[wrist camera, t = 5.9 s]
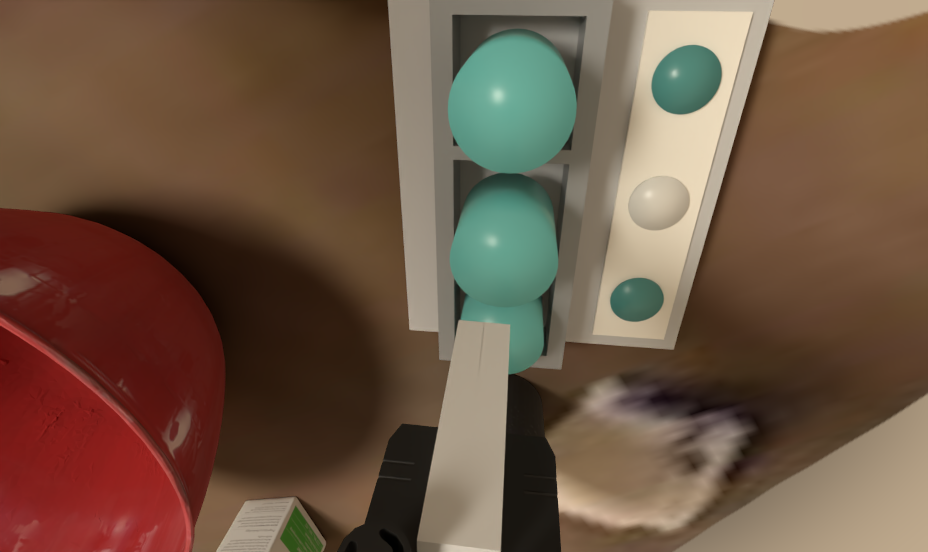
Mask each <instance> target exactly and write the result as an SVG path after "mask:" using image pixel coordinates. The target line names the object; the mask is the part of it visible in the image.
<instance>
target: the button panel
mask: <svg viewBox="0 0 928 552" xmlns="http://www.w3.org/2000/svg"><path fill="white" fill-rule="evenodd" d="M773 4H774V0H388V11H389V26H390V41H391V56H392V72H393V87H394V102H395V117H396V132H397V147H398V162H399V177H400V192H401V208H402V223H403V238H404V253H405V268H406V283H407V298H408V313H409V329H410V330H418V331H431V332H439V360H448V361H451V358H452V353H453V348H454V342H455V337H456V332H457V327H458V321H459V320H461V315H462V310H463V305H464V300H465V295H466V293H465V292H464V291H463V290H462V289H461V288H460V286H459V285H458V284H457V282H456V280H455V279H454V277H453V274H452V271H451V267H450V251H451V246H452V243H453V240H454V236H455V233H456V229H457V226H458V223H459V219H460V216H461V212H462V209H463V205H464V202H465V200H466V197H467V195H468V194H469V192H470V191H471V189H472V188H473V187H474V186H475V185H476V184H477V183H478V182H480V181H481V180H483V179H484V178H486V177H488V176H491V175H494V174H497V173H499V172H495V171H491V170H489V169H486V168H484V167H482V166H480V165H478V164H477V163H475V162H474V161H472V160H471V159H470V158H469V157H468V156H467V155H466V154H465V153H464V152H463V151H462V149H461V148H460V147H459V145H458V144H457V142H456V140H455V138H454V136H453V134H452V131H451V128H450V124H449V119H448V100H449V94H450V90H451V87H452V84H453V82H454V80H455V78H456V76H457V74H458V72H459V71H460V69H461V68H462V67H463V65H464V64H465V63H466V61H467V60H468V59H469V57H470V56H471V55H472V53H473V52H474V51H475V50H476V48H477V47H478V46H479V45H480V44H481V43H482V42H483V41H484V40H486V39H487V38H488V37H490V36H492V35H494V34H495V33H498V32H501V31H503V30H508V29H527V30H531V31H534V32H536V33H539V34H541V35H542V36H544V37H546V38H547V39H548V40H549V41H551V42H552V43H553V45H554V46H555V47H556V48H557V49H558V51H559V52H560V54H561V56H562V58H563V60H564V62H565V65H566V67H567V70H568V72H569V75H570V77H571V80H572V83H573V86H574V89H575V94H576V102H577V109H576V118H575V123H574V126H573V129H572V132H571V134H570V136H569V138H568V140H567V142H566V143H565V145H564V146H563V147H562V149H561V150H560V151H559V152H558V153H557V154H556V155H555V156H554V157H553V158H552V159H551V160H549V161H548V162H547V163H545V164H543V165H542V166H540V167H538V168H535V169H533V170H530V171H527V172H522V173H518V174H522V175H525V176H528V177H530V178H532V179H533V180H535V181H536V182H538V183H539V184H540V185H541V186H542V187H543V188H544V189H545V190H546V192H547V193H548V195H549V197H550V199H551V201H552V205H553V211H554V221H555V231H556V241H557V251H558V269H557V273H556V276H555V278H554V280H553V282H552V284H551V285H550V287H549V288H548V289H547V290H546V291H545V292H544V293H543V294H542V305H543V332H544V346H543V351H542V353H541V355H540V357H539V359H538V360H537V361H536V362H535V363H534V364H533V365H532V366H530V367H536V368H548V369H560V370H561V368H562V361H563V354H564V346H565V342H578V343H591V344H605V345H618V346H631V347H645V348H658V349H671V350H674V346H675V343H676V339H677V336H678V332H679V329H680V325H681V322H682V318H683V315H684V311H685V308H686V305H687V301H688V298H689V294H690V291H691V287H692V284H693V280H694V277H695V273H696V270H697V267H698V263H699V260H700V256H701V253H702V249H703V246H704V242H705V239H706V235H707V232H708V228H709V225H710V222H711V218H712V215H713V211H714V208H715V204H716V201H717V197H718V194H719V190H720V187H721V184H722V180H723V177H724V173H725V170H726V166H727V163H728V159H729V156H730V152H731V149H732V145H733V142H734V139H735V135H736V132H737V128H738V125H739V121H740V118H741V114H742V111H743V107H744V104H745V101H746V97H747V94H748V90H749V87H750V83H751V80H752V76H753V73H754V69H755V66H756V63H757V59H758V56H759V52H760V49H761V45H762V42H763V38H764V35H765V31H766V28H767V24H768V21H769V18H770V14H771V11H772V7H773Z"/></svg>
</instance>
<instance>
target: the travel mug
mask: <svg viewBox="0 0 928 552" xmlns="http://www.w3.org/2000/svg"><path fill="white" fill-rule="evenodd" d="M506 433H507V434H517V435H526V436H536V437H545V433H544V419H543V408H542V401H541V398H540V396H539V394H538V392H537V390H536V389H535V388H534V387H533V386H532V385H531V384H530V383H529V382H528V381H526V380H524V379H523V378H521V377H519V376H516V375H513V374H508V390H507V414H506Z"/></svg>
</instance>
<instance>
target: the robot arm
mask: <svg viewBox="0 0 928 552" xmlns="http://www.w3.org/2000/svg"><path fill="white" fill-rule="evenodd" d="M509 343H510V324H499V323H487V322H476V321H465V320H459V321H458V327H457V332H456V337H455V342H454V348H453V353H452V358H451V363H450V369H449V374H448V379H447V384H446V390H445V395H444V400H443V405H442V411H441V416H440V421H439V426H438V427H429V426H420V425H410V424H401V426H400V427H399V428H398V429H397V431H396V432H395V433H394V434H393V435H392V437H391V438H390V439H389V441H388V445H387V448H386V452H385V455H384V459H383V463H382V465H381V469H380V472H379V478H378V479H377V483H376V486H375V490H374V493H373V496H372V500H371V503H370V507H369V510H368V514H367V517H366V521H365V524H364V525H361V526H359V527H357V528H355V529H354V530H353V531H352V532H351V533H350V534H349V535H347V536H346V537H345V538H344V540H343V542H342V544H341V545H340V547H339V549H338V551H337V552H561V543H560V526H559V510H558V498H557V481H556V461H555V455H554V453H553V451H552V449H551V447H550V445H549V443H548V441H547V439H546V438H545V437H536V436H526V435H517V434H507V433H506V414H507V390H508V367H509Z"/></svg>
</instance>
